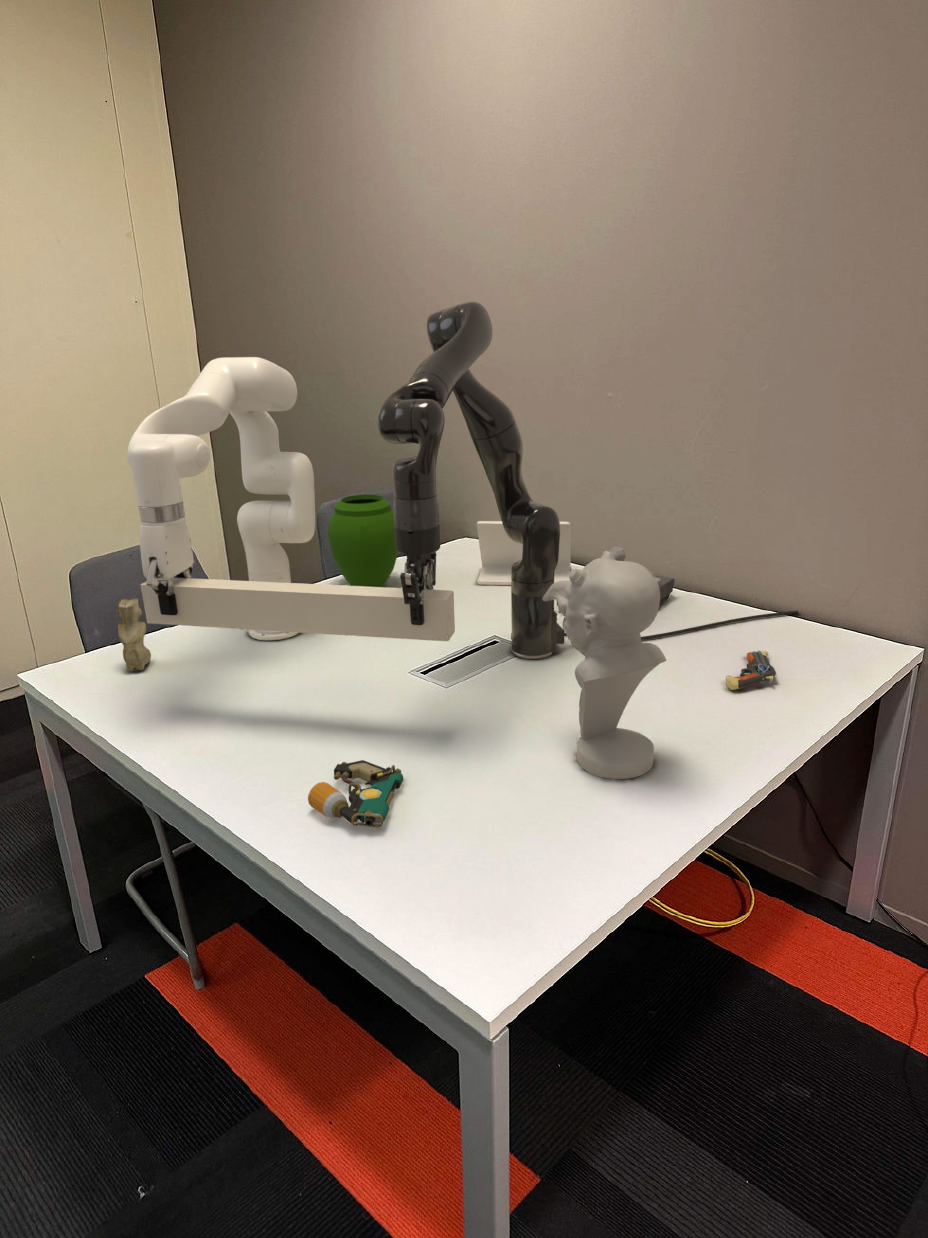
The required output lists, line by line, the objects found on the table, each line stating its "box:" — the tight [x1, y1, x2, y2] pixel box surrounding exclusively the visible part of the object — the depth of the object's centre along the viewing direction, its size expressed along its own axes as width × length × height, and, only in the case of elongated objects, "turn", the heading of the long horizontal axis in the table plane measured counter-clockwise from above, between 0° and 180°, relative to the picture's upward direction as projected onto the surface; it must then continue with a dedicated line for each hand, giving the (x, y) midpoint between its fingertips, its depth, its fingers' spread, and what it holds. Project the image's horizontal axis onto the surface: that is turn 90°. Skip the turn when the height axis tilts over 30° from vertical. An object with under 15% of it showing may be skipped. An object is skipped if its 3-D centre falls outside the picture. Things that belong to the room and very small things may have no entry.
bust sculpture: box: [543, 550, 667, 780], centre depth 141 cm, size 16×24×35 cm, turn 28°
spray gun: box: [307, 759, 404, 829], centre depth 133 cm, size 4×17×15 cm
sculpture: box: [116, 597, 152, 672], centre depth 183 cm, size 6×7×15 cm
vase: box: [327, 494, 399, 587], centre depth 229 cm, size 20×20×24 cm
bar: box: [140, 577, 456, 642], centre depth 152 cm, size 57×5×8 cm, turn 77°
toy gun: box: [725, 650, 778, 691], centre depth 173 cm, size 3×19×10 cm
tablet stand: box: [476, 520, 572, 586], centre depth 236 cm, size 18×25×17 cm
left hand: (177, 608), depth 158 cm, fingers closed on bar, 4 cm apart
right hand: (421, 618), depth 147 cm, fingers closed on bar, 4 cm apart
